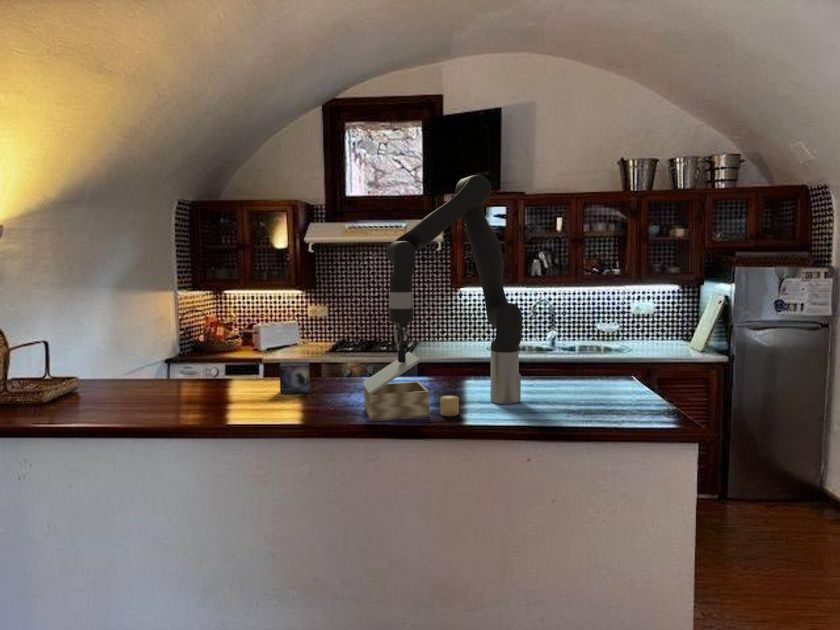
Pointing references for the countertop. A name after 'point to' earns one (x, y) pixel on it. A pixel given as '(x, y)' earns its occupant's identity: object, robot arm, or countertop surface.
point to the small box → (294, 378)
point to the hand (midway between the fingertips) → (401, 361)
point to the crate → (397, 402)
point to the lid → (389, 373)
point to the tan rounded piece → (449, 405)
